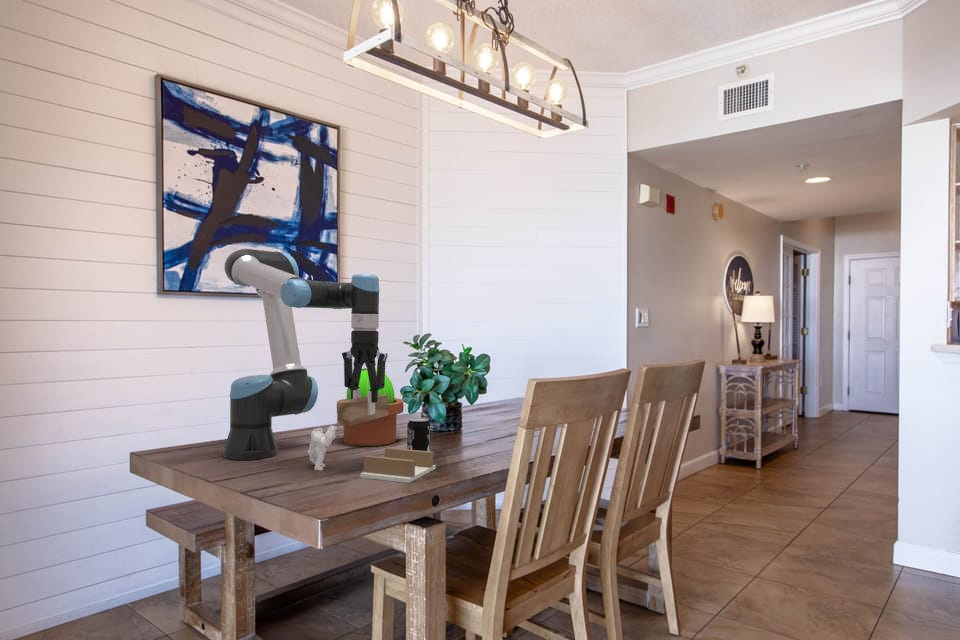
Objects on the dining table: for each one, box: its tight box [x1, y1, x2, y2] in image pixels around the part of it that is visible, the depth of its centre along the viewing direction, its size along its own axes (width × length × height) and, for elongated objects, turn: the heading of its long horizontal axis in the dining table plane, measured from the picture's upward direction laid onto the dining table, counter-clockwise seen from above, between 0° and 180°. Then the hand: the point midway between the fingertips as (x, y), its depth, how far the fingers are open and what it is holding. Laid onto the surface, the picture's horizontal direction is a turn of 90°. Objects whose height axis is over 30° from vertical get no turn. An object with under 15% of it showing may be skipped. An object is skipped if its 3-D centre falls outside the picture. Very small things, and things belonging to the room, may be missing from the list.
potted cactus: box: [336, 367, 405, 447], centre depth 204 cm, size 22×22×25 cm
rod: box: [336, 394, 388, 427], centre depth 169 cm, size 4×20×6 cm, turn 159°
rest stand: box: [359, 447, 437, 484], centre depth 162 cm, size 14×16×5 cm
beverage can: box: [406, 417, 431, 452], centre depth 177 cm, size 7×7×12 cm
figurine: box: [307, 425, 338, 471], centre depth 166 cm, size 10×5×12 cm, turn 52°
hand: (364, 413), depth 169 cm, fingers closed on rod, 4 cm apart
